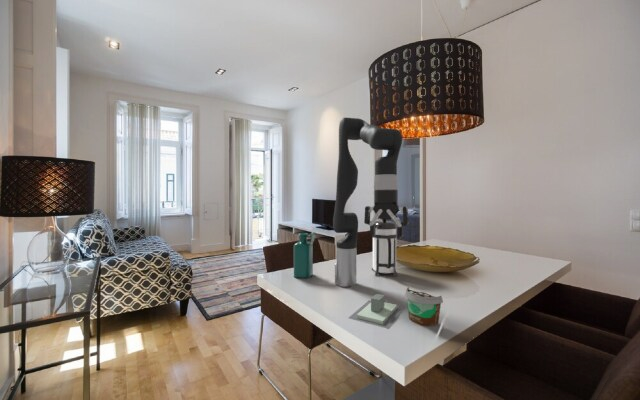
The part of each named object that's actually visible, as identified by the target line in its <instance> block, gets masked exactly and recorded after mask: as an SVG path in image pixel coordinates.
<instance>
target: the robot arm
mask: <svg viewBox="0 0 640 400" xmlns="http://www.w3.org/2000/svg"><path fill="white" fill-rule="evenodd" d="M338 125H339V126H338V161H337V173H336V194H335V202H334V203H335V204H334V212H333V218H332V227H333V231H334V232H335V233H337V234H345V233H346V235H345V236H344V237H342V238H340V239H338V240H337V241H336V262H335V263H334V284H335V285H337V286H339V287H342V288H350V287H351V288H352V287H354V286H356V285H357V244H358V238H359V237H358V233H359V219H358V215H357V214H356V213H355V212H345V207H346V205H347V202H348V200H349V199H350V197H351V196H352V194H354V192H355V190H356V188H357V186H358V179H359V170H358V166H357V164H356V162H355V161H354V158H353V157H352V155H351V152H350V150H349V141H359V140H362V142H363V143H365V144H366V145H369V146H370V148H371V149H372V150H378V151H387V154H386V155H385V156H380V157H378V158H376V159H375V162H374V185H373V188H374V190H373V193H374V205H373V206H371V205H367V206H365V207H364V221H363V222H364V224H365V225H369V234H370V236H371V237H372V238H373V237H375V236H376V226H375V224H376V222H377V221H380V220H383V219H386V221H389V220H393V221H392V222H394V223H395V224H396V226H397V229H396V234H397V237H396V239H398V240H399V239H401V238H402V237H403V236H404V227H405V226H408V225H409V223H410V222H409V221H410V220H409V207H408V206H399V202H398V198H399V197H398V196H399V194H398V193H399V190H398V188H399V185H398V184H399V183H398V175H397V173H398V172H397V171H398V165H397V164H398V158H399V155H400V151H401V147H402V144H403V135H402V133H401V131H400V130H399V129H397V128H385V127H381V126H379V125H375V124H369V123H368V122H367V121H365V120H363V119H362V118H359V117H358V118H357V117H342V118H341V119H340V121H339V124H338ZM399 211H400V214H402V217H403V218H402V219H403V220H402V221H401V219H400V217H399V216H398V212H399ZM372 212H374V213H375V215H374V216H373V218H372V219H371V213H372Z"/></svg>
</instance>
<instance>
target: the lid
mask: <svg viewBox="0 0 640 400" xmlns="http://www.w3.org/2000/svg"><path fill="white" fill-rule="evenodd" d="M370 301H371V303H369V304H368V305H367V306H366V307H365V308H364V309H363V310H361V311H360V312H359V313H358V314H357V318H359V319H362V320H366V321H370V322H374V323H378V324H381V325H383V324H384V323H385V322H386V320H387V319H388V318H389V317H390V316H391V315H392V313H393V312H394V311H395V310H396V309H397V307H398V304H394V303H390V302H385V295H384V294H380V293H376V294H375V295H373V296H372V297H370Z"/></svg>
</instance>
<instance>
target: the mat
mask: <svg viewBox="0 0 640 400" xmlns="http://www.w3.org/2000/svg"><path fill="white" fill-rule="evenodd" d="M369 303H371V299H369V300H368V301H367V302H365V303H364V304H362V306H360V307H359V308H358V309H357V310H356V311H355V312H353V313H352V314H351V315H350V316H348V319H350V320H354V321H357V322H362V323H364V324H369V325H373V326H377V327H380V328H384V329H389V330H390V328H391V327H392V326H393V324H394V323H395V321H397V319H398V318H399V317H400V316H401V314H402V313H403V311H405V309H406V308H405V307H403V306H402V307H401V306H397V309H396V310H395V311H394V312H393V313H392V315H391V316H390V317H389V318H388V319H387V320H386V322H385V323H384V324H383V325H381V324H378V323H374V322H370V321H366V320H362V319H359V318H357V314H358V313H359V312H360V311H361V310H363V309H364V308H365V307H366V306H367V305H368V304H369Z"/></svg>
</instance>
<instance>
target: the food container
mask: <svg viewBox="0 0 640 400" xmlns="http://www.w3.org/2000/svg"><path fill="white" fill-rule="evenodd" d="M404 296H405V298H406V299H407V309H408V310H407V311H408V318H409V320H410V321H411V322H412V323H414V324H416V325H420V326H425V327H430V326H431V327H432V326H433V327H434V326H436V325H438V324H439V321H440V313H441V312H440V311H441V305H442V304H443V303H444V299H443V297H442V295H439V296H433V295H431V294H428V293H426V292H423V291H415V290H411V289H410V287H409V286H408V287H407V288H406V290H405V294H404Z"/></svg>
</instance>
